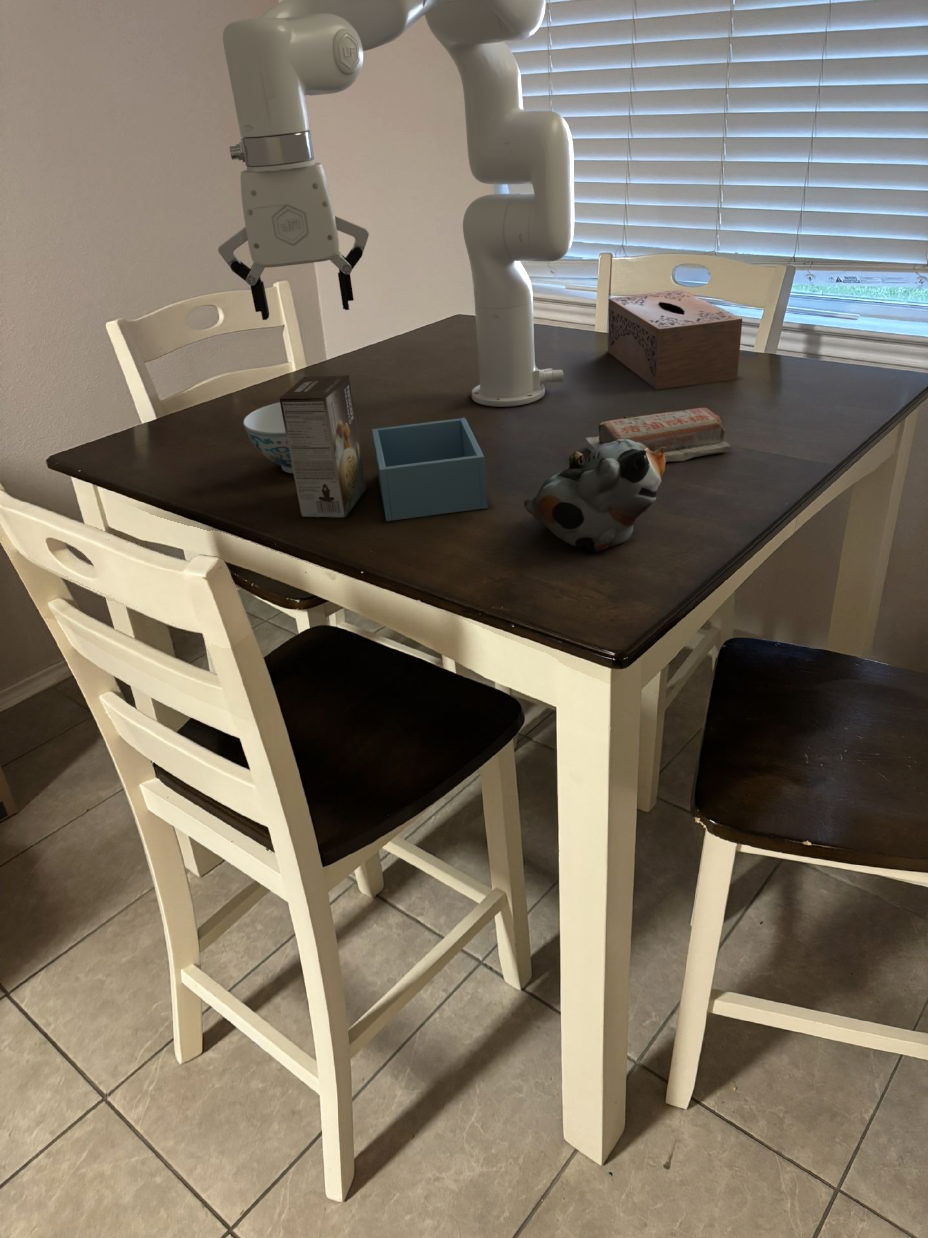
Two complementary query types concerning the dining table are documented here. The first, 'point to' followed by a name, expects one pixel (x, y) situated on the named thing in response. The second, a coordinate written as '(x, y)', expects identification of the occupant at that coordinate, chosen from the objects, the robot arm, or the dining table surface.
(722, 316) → the tissue box cover
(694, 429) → the packaged product
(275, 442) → the chinaware
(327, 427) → the coffee box
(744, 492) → the dining table surface
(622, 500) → the lucky cat figurine
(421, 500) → the bin
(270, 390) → the dining table surface
